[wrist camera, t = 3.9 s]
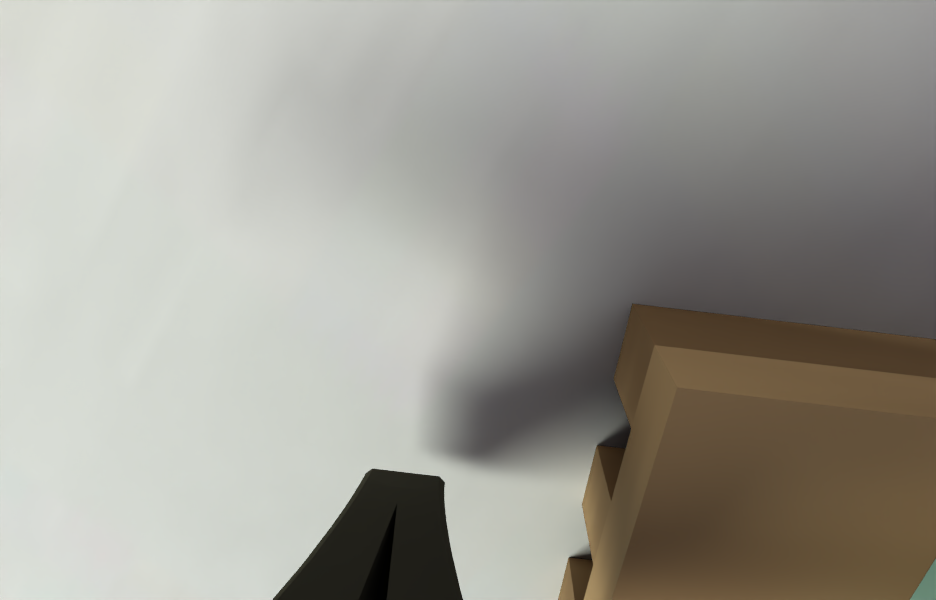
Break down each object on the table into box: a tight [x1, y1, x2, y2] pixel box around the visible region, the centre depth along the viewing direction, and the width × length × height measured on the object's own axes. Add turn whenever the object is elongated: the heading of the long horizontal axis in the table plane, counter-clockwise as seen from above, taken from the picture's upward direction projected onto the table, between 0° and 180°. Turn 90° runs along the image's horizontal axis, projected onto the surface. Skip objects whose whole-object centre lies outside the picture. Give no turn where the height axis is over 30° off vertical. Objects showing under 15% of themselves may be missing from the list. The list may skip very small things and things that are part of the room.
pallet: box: [558, 304, 936, 600], centre depth 11 cm, size 8×12×3 cm, turn 84°
